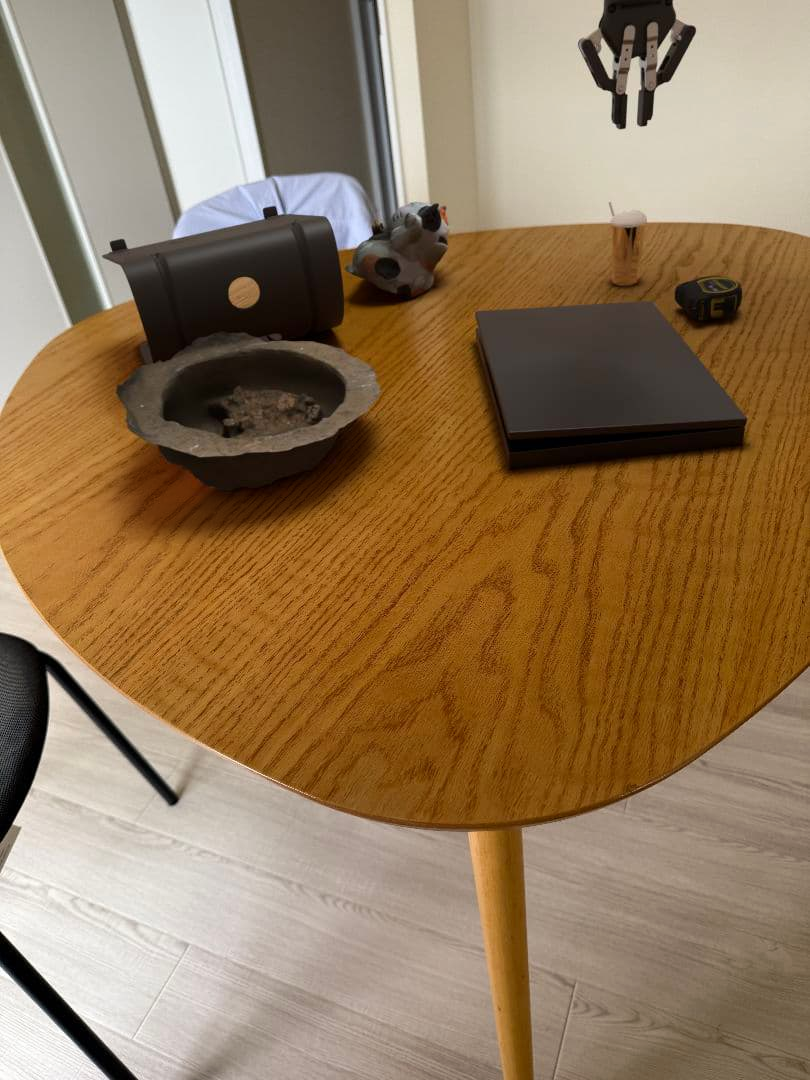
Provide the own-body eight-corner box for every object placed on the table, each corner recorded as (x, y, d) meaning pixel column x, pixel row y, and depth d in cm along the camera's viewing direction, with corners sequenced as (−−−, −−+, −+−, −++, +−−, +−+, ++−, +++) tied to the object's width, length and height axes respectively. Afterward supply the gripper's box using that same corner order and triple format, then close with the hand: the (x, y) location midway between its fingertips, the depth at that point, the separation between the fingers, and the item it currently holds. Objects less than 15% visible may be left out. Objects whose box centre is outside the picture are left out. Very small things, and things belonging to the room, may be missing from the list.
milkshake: (615, 273, 109) (619, 197, 103) (649, 279, 106) (655, 201, 100) (596, 283, 107) (598, 206, 101) (629, 290, 104) (634, 211, 98)
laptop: (509, 470, 71) (508, 452, 70) (476, 342, 95) (475, 327, 94) (742, 445, 70) (745, 426, 69) (649, 322, 94) (650, 307, 93)
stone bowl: (112, 441, 84) (88, 358, 79) (324, 388, 93) (315, 310, 88) (174, 550, 65) (148, 451, 60) (430, 469, 75) (427, 378, 70)
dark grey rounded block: (158, 405, 91) (114, 271, 81) (130, 341, 108) (91, 226, 99) (361, 349, 97) (342, 220, 88) (303, 297, 115) (282, 185, 106)
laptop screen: (508, 441, 69) (509, 432, 69) (475, 318, 93) (475, 310, 93) (745, 427, 69) (747, 418, 69) (650, 308, 93) (651, 300, 93)
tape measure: (671, 308, 97) (673, 278, 95) (725, 301, 97) (730, 271, 95) (690, 328, 92) (693, 297, 89) (748, 321, 91) (753, 289, 89)
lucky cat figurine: (370, 270, 122) (403, 179, 115) (437, 304, 120) (474, 214, 114) (329, 274, 108) (365, 172, 102) (404, 312, 107) (445, 210, 100)
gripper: (693, -59, 88) (678, 115, 98) (570, -42, 88) (568, 129, 98) (717, -60, 82) (698, 124, 92) (584, -42, 82) (580, 139, 92)
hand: (631, 126), depth 95 cm, fingers closed
